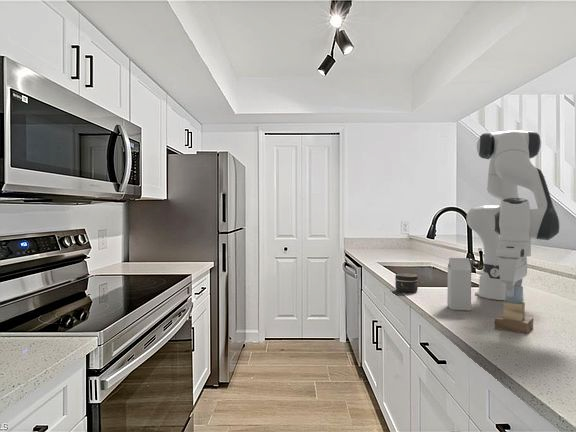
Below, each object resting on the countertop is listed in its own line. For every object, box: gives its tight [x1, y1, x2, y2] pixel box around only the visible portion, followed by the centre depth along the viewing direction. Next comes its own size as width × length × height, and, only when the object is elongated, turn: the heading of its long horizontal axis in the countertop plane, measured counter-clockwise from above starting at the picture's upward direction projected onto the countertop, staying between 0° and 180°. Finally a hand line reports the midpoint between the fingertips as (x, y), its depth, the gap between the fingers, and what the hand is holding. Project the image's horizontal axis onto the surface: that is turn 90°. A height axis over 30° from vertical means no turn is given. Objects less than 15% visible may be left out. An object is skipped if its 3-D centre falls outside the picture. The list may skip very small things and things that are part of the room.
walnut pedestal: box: [494, 313, 534, 334], centre depth 132 cm, size 9×9×3 cm
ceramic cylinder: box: [504, 285, 524, 304], centre depth 132 cm, size 5×5×5 cm
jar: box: [394, 273, 419, 294], centre depth 192 cm, size 10×10×8 cm
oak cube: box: [502, 300, 526, 321], centre depth 132 cm, size 5×5×5 cm
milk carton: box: [446, 257, 472, 311], centre depth 159 cm, size 7×7×19 cm
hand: (514, 293), depth 132 cm, fingers open, 8 cm apart
